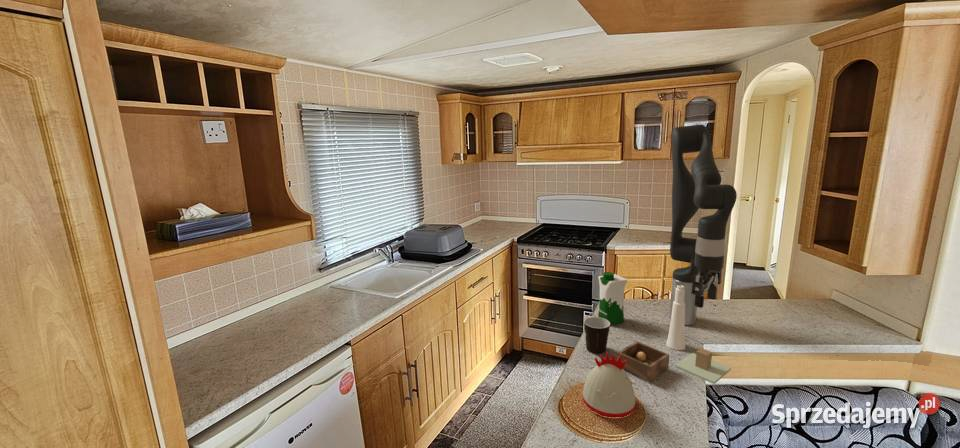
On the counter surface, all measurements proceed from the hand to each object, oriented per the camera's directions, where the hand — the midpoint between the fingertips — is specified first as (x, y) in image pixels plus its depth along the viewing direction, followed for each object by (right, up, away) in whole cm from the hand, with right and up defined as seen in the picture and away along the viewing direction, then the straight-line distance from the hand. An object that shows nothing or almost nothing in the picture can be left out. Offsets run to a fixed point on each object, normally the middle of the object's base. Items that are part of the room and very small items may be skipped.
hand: (705, 302), depth 120 cm
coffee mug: (-29, -20, +15) cm, 39 cm away
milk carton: (-16, -15, +37) cm, 43 cm away
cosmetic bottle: (-1, -19, +17) cm, 25 cm away
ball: (-17, -19, +7) cm, 26 cm away
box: (-17, -21, +4) cm, 28 cm away
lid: (+1, -22, +3) cm, 22 cm away
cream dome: (-33, -26, -11) cm, 43 cm away
